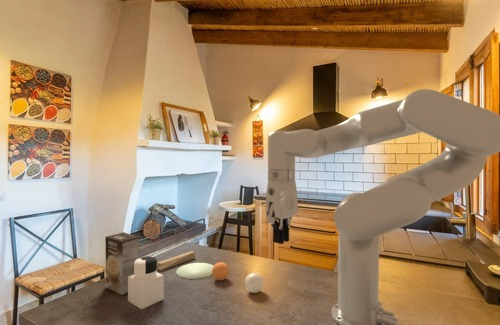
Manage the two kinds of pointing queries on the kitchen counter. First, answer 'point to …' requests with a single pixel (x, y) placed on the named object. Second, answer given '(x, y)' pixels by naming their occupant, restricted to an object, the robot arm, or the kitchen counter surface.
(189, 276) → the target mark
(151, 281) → the medicine bottle
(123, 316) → the kitchen counter surface
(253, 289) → the cue ball
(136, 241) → the coffee box
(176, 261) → the rail
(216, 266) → the object ball
